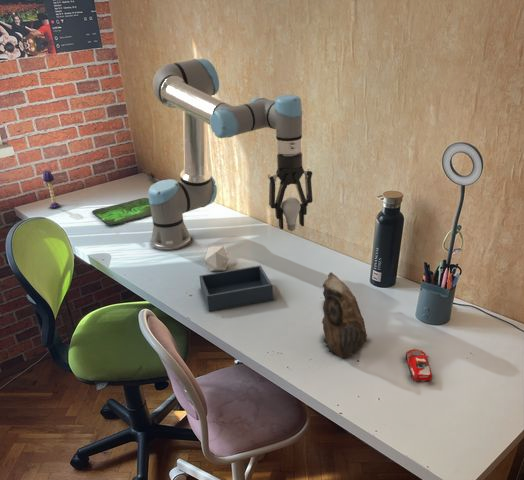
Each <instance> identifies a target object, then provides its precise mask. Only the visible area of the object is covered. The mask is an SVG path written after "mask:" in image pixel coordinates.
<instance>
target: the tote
mask: <svg viewBox="0 0 524 480" xmlns="http://www.w3.org/2000/svg"><path fill="white" fill-rule="evenodd" d="M198 277H199V284H200V292H201V294H202V296H203V299H204V301H205V304H206V307H207V310H208V312H215V311H218V310H224V309H225V310H226V309H230V308H235V307H241V306H246V305H253V304H258V303H263V302H268V301H273V300H274V293H273V284H272V281H271V280H270V278H269V277H268V276H267V273H266V272H265V270H264V269H263V267H262V266H261V265H255V266H248V267H243V268H237V269H231V270H230V269H229V270H225V271H217V272H214V273H206V274H202V275H199V276H198Z"/></svg>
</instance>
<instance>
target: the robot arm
mask: <svg viewBox="0 0 524 480" xmlns="http://www.w3.org/2000/svg"><path fill="white" fill-rule="evenodd" d="M152 80H153V81H152V90H153V94H154V96H155V97H156V99H157V100H158V101H159V102H160V103H161V104H163V105H165V106H166V107H168V108H170V109H171V108H172V109H175V108H177V109H179V110H181V111H182V130H183V131H182V133H183V169H182V171H181V172H180V175H179V176H180V177H179V178H180V180H179V181H177V180H176V179H173V178H172V179H171V178H168V179H162V180H159V181H156V180H155V179H154V178H153V177H152V176H153V175H152V172H149V179H150V180H151V181H152V182H153V184H152V185H151V186H150V187H149V189H148V191H147V194H148V195H147V196H148V199H149V203H150V208H151V214H152V215H151V218H152V225H153V226H152V232H151V239H150V241H151V246H152V247H153V248H154V249H156V250H159V251H175V250H180V249H183V248H184V247H186V246H188V245H189V244H190V243H191V241H192V239H191V234H190V232H189V230H188V228H187V226H186V224H185V221H184V215H183V214H185V213H188V212H192V211H194V210H198V209H200V208H201V209H202V208H205V207H207V206H209V205H212V204H213V203H214V202H215V201H216V198H217V195H218V187H217V185H216V180H215V178H214V176H212V174H211V172H210V171H209V170H208V125H209V126H210V129H211V131H212V133H214V136H215V137H216V138H218V139H225V138H233V137H234V136H238V135H241V134H245V133H249V132H254V131H257V130H261V129H265V128H268V129H272V130H275V134H276V135H275V138H276V140H275V141H276V152H277V154H276V163H277V164H276V165H277V167H276V168H277V169H276V172H275V173H273V174H268V175H267V179H268V182H269V187H268V188H269V191H268V195H269V196H268V205H269V207H270V208H271V209H273V210H274V212H275V213H274V216H275V218H276V219H277V220H278V227H279V229H280V230H284V214H283V209H282V208H281V205H282V202H283V201H284V197H285V193H286V189H287V187H288V186H290V185H295V188H296V191H297V194H298V197H299V201H300V205H301V209H300V212H299V214H298V224H299V225H300V226H301V227H305V216H306V215H307V213H308V206H309V204H312V203H313V201H314V200H313V189H312V188H313V187H312V176H313V171H312V170H311V169H310V168H307V169H304V167H303V109H302V99H301V97H299V96H298V95H294V94H282V95H279V96H277V97H276V98H275V99H274V100H272V99H269V98H265V97H255V98H252V99H251V100H250V102H249V103H244V104H239V105H234V106H233V105H231V104H229V103H227V102H224V101H223V100H220V99H218V98H217V97H214V96H215V95H216V94H217V93H218V92H219V90H220V79H219V75H218V72H217V70H216V68H215V66H214V65H213V63H212V62H211V61H210V60H208V59H206V58H193V59H190V60H185V61H178V62H174V63H173V62H171V63H167V64H164V65H162V66H161V67H160V68H159V69H157V71H156V72H155V74H154V76H153V79H152ZM302 177H304V184H305V186H304V187H305V193H304V190H303V188H302V183H301V178H302ZM277 178H278V179H279V180H280V182H279V188H278V191H277V195H276V182H277ZM305 195H306V196H305Z"/></svg>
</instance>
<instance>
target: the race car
mask: <svg viewBox="0 0 524 480" xmlns="http://www.w3.org/2000/svg"><path fill="white" fill-rule="evenodd" d="M428 358H430V356H428V355H427V354H426V352H425V351H423V350H421V349H417V348H413V349H409V350H408V351H406V352H405V362H406V364H407V368H408V370H409V374H410V378H411V380H412V381H413V382H415V383H419V384H420V383H421V384H424V383H425V384H426V383H432V380H433V372H432V368H431V365H430V362H429V359H428Z"/></svg>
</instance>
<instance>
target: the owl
mask: <svg viewBox="0 0 524 480" xmlns="http://www.w3.org/2000/svg"><path fill="white" fill-rule="evenodd" d="M322 287H323V291H322V295H323V298H324V300H323V305H322V310H323V317H322V320H321V323H322V330H323V333H324V338H323V343H325V344H326V345H325V347H326V348H328V352H329V353H331V354H332V355H334V356H337V357H339V358H341V359H347V358H349V357H350V356H351V355H352V354H355V352H356V351H357V350H359V349H360V348H362V347H363V346H364V345H365V344H366V343H367V342H368V340H367V339H368V334H367V329H366V324H365V320H364V318H363V315H362V313H361V309H360V306H359V303H358V301H357V299H356V296H355V295H354V293H353V292H352V290H351V289H350V287H348V286H347V284H346V283H345V282H343V281H342V280H341V279H340V278H339V277H338V276H337V275H336V274H334V273H333V271H332V272H329V273H328V275H327V278H326V280H325V281H324V282H323V283H322Z"/></svg>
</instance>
